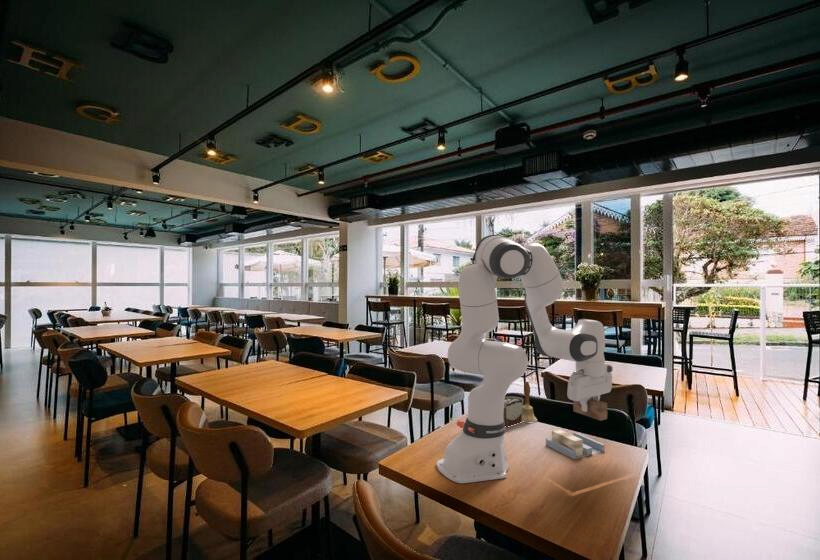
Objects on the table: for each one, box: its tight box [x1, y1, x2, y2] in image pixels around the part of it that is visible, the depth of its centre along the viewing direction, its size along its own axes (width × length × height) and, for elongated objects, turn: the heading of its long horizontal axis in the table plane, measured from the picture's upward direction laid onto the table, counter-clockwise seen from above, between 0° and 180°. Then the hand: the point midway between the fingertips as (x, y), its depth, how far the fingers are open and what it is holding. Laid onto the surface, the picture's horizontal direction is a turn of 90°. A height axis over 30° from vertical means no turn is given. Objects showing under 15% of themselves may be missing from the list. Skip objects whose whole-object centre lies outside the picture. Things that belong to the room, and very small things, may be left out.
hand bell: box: [522, 381, 538, 423], centre depth 162 cm, size 8×8×16 cm
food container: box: [503, 396, 525, 428], centre depth 158 cm, size 12×6×10 cm, turn 128°
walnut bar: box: [572, 397, 608, 422], centre depth 128 cm, size 10×4×5 cm, turn 30°
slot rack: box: [545, 431, 606, 460], centre depth 133 cm, size 14×12×3 cm
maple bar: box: [551, 429, 583, 456], centre depth 131 cm, size 10×4×5 cm, turn 26°
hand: (589, 409), depth 128 cm, fingers closed on walnut bar, 4 cm apart
